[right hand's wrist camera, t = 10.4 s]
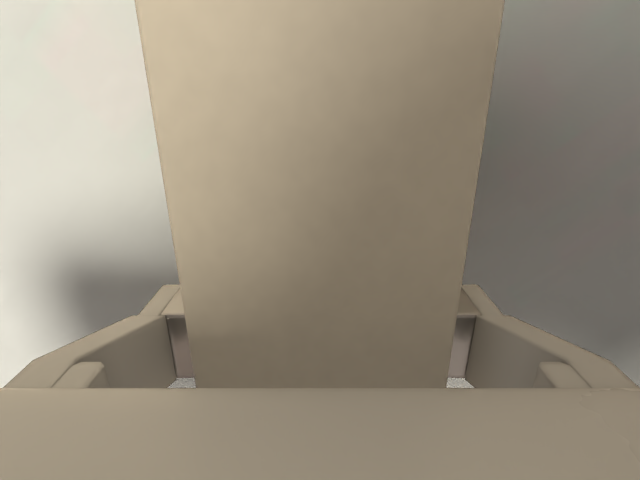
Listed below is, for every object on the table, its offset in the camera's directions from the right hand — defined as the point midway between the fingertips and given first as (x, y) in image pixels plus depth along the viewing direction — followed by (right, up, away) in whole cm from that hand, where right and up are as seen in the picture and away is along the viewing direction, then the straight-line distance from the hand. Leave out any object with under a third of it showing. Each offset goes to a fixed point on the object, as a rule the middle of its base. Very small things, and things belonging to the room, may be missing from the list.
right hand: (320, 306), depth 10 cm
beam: (0, +19, -5) cm, 20 cm away
